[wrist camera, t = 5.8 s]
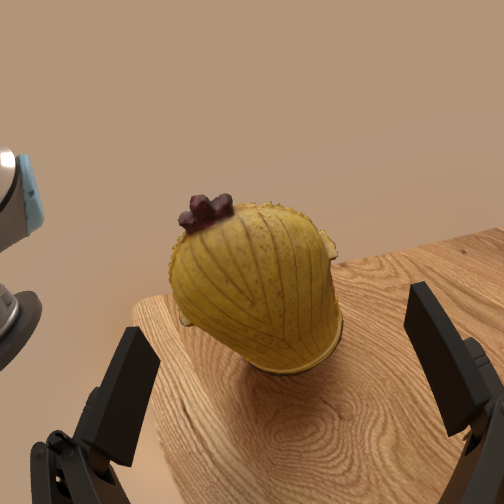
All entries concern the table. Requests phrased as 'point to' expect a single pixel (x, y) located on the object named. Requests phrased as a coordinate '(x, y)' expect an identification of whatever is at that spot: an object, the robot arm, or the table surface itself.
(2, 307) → the robot arm
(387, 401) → the table surface
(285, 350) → the yellow ribbed rounded piece
